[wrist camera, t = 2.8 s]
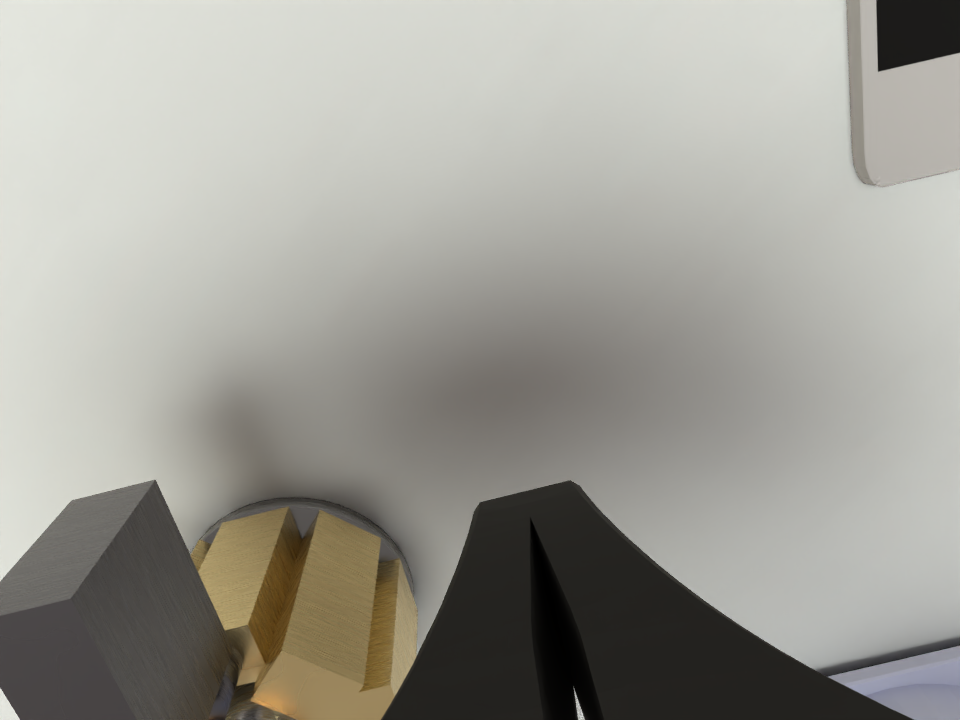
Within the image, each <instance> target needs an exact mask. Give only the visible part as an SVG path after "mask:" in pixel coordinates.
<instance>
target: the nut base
mask: <svg viewBox="0 0 960 720" xmlns="http://www.w3.org/2000/svg"><path fill="white" fill-rule="evenodd" d="M288 506H289V508H290V511H291V513H292V516H293V518H294V521H295V523H296V526H297V528H298V531H299V534H300V536H301V539H302V538H303V537H304V535H305V533H306V532H307V530H308V528H309V527H310V525H311V523H312V522H313V520H314V518H315V517H316V515H317V514H318V512H319V510H322V511H324V512H326V513H329V514H331V515H333V516H335V517H337V518H339V519H341V520H343V521H346V522H348V523H350V524H352V525H354V526H356V527H358V528H361V529H363V530H365V531H367V532H369V533H371V534H373V535H375V536H378V537H380V538H381V543H380V552H379V560H378V563H381V562H385V561H390V560H394V559H398V558H400V560H401V563H402V566H403V569H404V572H405V575H406V578H407V581H408V584H409V587H410V590H411V592H412V595H413V598H414V591H413V582H412V578H411V574H410V570H409V568H408V565H407V563H406V561H405V558H404V557H403V555H402V553H401V552H400V550H399V548H398V547H397V546H396V544H395V543H394V542H393V541H392V540H391V538H390V537H389V536H388V535H387V534H386V533H385V532H384V531H383V530H382V529H380V528H379V527H378V526H377V525H375V524H374V523H373V522H371V521H370V520H369V519H367V518H365V517H364V516H362V515H360V514H358V513H356V512H355V511H353V510H350V509H348V508H345V507H343V506H340V505H337V504H333V503H330V502H326V501H322V500H315V499H309V498H279V499H272V500H267V501H261V502H258V503H255V504H252V505H248V506H245V507H243V508H241V509H239V510H237V511H234V512H232V513H231V514H229V515H227V516H226V517H224V518H223V519H221V520H220V521H218V522H217V523H216V524H215V525H214V526H212V527H211V528H210V529H209V530H208V531H207V532H206V533H205V534H204V535H203V536H202V538H201V539H200V540H203V541H205V542H207V543H209V544H212V543H213V541H214V539H215V536H216V534H217V532H218V530H219V528H220V526H221V524H222V523H223V522H227V521H231V520H235V519H240V518H244V517H248V516H252V515H256V514H260V513H264V512H268V511H272V510H276V509H280V508H284V507H288ZM193 550H194V549H193ZM190 555H191V554H190ZM255 683H256V682H252V683H248V684H243V685H239V686H236V688H235V691H234V694H233V697H232V700H231V703H230V706H229V709H228V712H227V715H226V718H225V720H297V719H295V718H292V717H290V716H287V715H285V714H282V713H280V712H277V711H275V710H272V709H269V708H267V707H264V706H262V705H259V704H257V703H254V702H252V701H250V699H251V696H252V693H253V689H254V686H255Z"/></svg>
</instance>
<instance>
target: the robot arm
mask: <svg viewBox="0 0 960 720" xmlns="http://www.w3.org/2000/svg"><path fill="white" fill-rule="evenodd" d="M573 686H574V687H573ZM574 689H575V692H576V695H577V698H578V701H579V704H580V706H581V709H582V712H583V715H584V718H585V720H960V646H956V647H952V648H948V649H943V650H939V651H935V652H930V653H926V654H922V655H918V656H913V657H909V658H905V659H901V660H896V661H892V662H888V663H883V664H879V665H875V666H871V667H866V668H862V669H858V670H854V671H849V672H845V673H841V674H836V675H832V676H828V677H827V676H825V675H823V674H821V673H819V672H817V671H815V670H813V669H811V668H810V667H808V666H806V665H804V664H803V663H801V662H799V661H798V660H796V659H794V658H792V657H791V656H789V655H787V654H785V653H784V652H782V651H780V650H779V649H777V648H775V647H773V646H772V645H770V644H769V643H767V642H765V641H764V640H762V639H761V638H759V637H758V636H756V635H754V634H753V633H751V632H750V631H748V630H746V629H745V628H743V627H742V626H740V625H739V624H737V623H736V622H734V621H733V620H731V619H730V618H728V617H727V616H725V615H724V614H722V613H721V612H719V611H718V610H717V609H715V608H714V607H712V606H711V605H710V604H708V603H707V602H705V601H704V600H703V599H701V598H700V597H699V596H697V595H696V594H695V593H693V592H692V591H691V590H689V589H688V588H687V587H686V586H684V585H683V584H682V583H680V582H679V581H678V580H676V579H675V578H674V577H673V576H671V575H670V574H669V573H668V572H666V571H665V570H664V569H663V568H662V567H660V566H659V565H658V564H657V563H656V562H654V561H653V560H652V559H651V558H650V557H649V556H648V555H646V554H645V553H644V552H643V551H642V550H641V549H640V548H639V547H637V546H636V545H635V544H634V543H633V542H632V541H631V540H629V539H628V538H627V537H626V536H625V535H624V534H623V533H622V532H621V531H620V530H619V529H618V528H617V527H616V526H615V525H614V524H613V523H612V522H611V521H610V520H609V519H608V518H607V517H606V516H605V515H604V514H603V513H602V512H601V511H600V510H599V509H598V508H597V507H596V505H595V504H594V503H593V502H592V501H591V500H590V499H589V497H588V496H587V495H586V494H585V492H584V491H583V490H582V488H581V487H580V486H579V485H577V484H576V483H574V482H572V481H571V480H570V481H566V482H562V483H558V484H553V485H549V486H545V487H541V488H537V489H533V490H529V491H525V492H521V493H517V494H512V495H508V496H504V497H500V498H496V499H492V500H488V501H484V502H480V503H479V505H478V506H477V508H476V509H475V511H474V514H473V518H472V522H471V526H470V529H469V533H468V536H467V539H466V542H465V545H464V548H463V551H462V554H461V557H460V560H459V562H458V565H457V568H456V570H455V573H454V575H453V578H452V580H451V583H450V585H449V588H448V590H447V592H446V595H445V597H444V600H443V602H442V605H441V607H440V609H439V611H438V614H437V616H436V618H435V620H434V622H433V624H432V626H431V628H430V630H429V632H428V634H427V636H426V638H425V640H424V642H423V645H422V647H421V649H420V651H419V653H418V655H417V657H416V659H415V661H414V663H413V665H412V667H411V668H410V670H409V672H408V674H407V676H406V678H405V679H404V681H403V683H402V685H401V687H400V688H399V690H398V692H397V694H396V695H395V697H394V699H393V700H392V702H391V704H390V706H389V707H388V709H387V710H386V712H385V714H384V715H383V717H382V718H381V720H578V716H577V709H576V701H575V694H574Z"/></svg>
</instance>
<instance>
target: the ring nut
mask: <svg viewBox="0 0 960 720" xmlns="http://www.w3.org/2000/svg"><path fill="white" fill-rule="evenodd" d="M380 543H381V538H380V537H378V536H375V535H373V534H371V533H369V532H367V531H365V530H363V529H361V528H358V527H356V526H354V525H352V524H350V523H348V522H346V521H343V520H341V519H339V518H337V517H335V516H333V515H331V514H329V513H326V512H324V511H322V510H319V512H318V514H317V515H316V517H315V518H314V520H313V522H312V523H311V525H310V527H309V528H308V530H307V532H306V533H305V535H304V537H303V538H302V539H301V536H300V534H299V531H298V528H297V526H296V523H295V521H294V518H293V516H292V513H291V511H290V508H289V506H288V507H284V508H280V509H276V510H272V511H268V512H264V513H260V514H256V515H252V516H248V517H244V518H240V519H235V520H231V521H227V522H223V523H222V524H221V526H220V528H219V530H218V532H217V534H216V536H215V539H214V541H213V543H212V544H209V543H207V542H205V541H203V540H200V539H199V541H198V542H197V544H196V546H195V548H194V550H193V551H192V553H191V555H190V554H189V551H188V549H187V547H186V545H185V543H184V541H183V538H182V536H181V534H180V532H179V530H178V528H177V525H176V523H175V521H174V519H173V517H172V515H171V512H170V510H169V508H168V506H167V504H166V501H165V499H164V497H163V495H162V493H161V491H160V488H159V486H158V484H157V482H156V480H152V481H148V482H144V483H140V484H136V485H132V486H128V487H124V488H120V489H116V490H112V491H108V492H104V493H100V494H96V495H92V496H88V497H84V498H80V499H76V500H72V501H71V502H70V503H69V504H68V505H67V506H66V508H65V509H64V510H63V511H62V512H61V513H60V514H59V515H58V517H57V518H56V519H55V520H54V521H53V522H52V523H51V525H50V526H49V527H48V528H47V529H46V530H45V531H44V533H43V534H42V535H41V536H40V537H39V538H38V539H37V540H36V542H35V543H34V544H33V545H32V546H31V547H30V548H29V550H28V551H27V552H26V553H25V554H24V555H23V556H22V558H21V559H20V560H19V561H18V562H17V563H16V564H15V565H14V567H13V568H12V569H11V570H10V571H9V572H8V573H7V575H6V576H5V577H4V578H3V579H2V580H1V581H0V688H1V689H2V691H3V693H4V694H5V696H6V697H7V699H8V701H9V702H10V704H11V706H12V707H13V709H14V710H15V712H16V714H17V715H18V717H19V718H20V720H225V718H226V715H227V712H228V709H229V706H230V703H231V700H232V697H233V694H234V691H235V688H236V686H239V685H243V684H248V683H252V682H256V683H255V686H254V689H253V693H252V696H251V699H250V701H252V702H254V703H257V704H259V705H262V706H264V707H267V708H269V709H272V710H275V711H277V712H280V713H282V714H285V715H287V716H290V717H292V718H295V719H297V720H381V718H382V717H383V715H384V714H385V712H386V710H387V709H388V707H389V706H390V704H391V702H392V700H393V699H394V697H395V695H396V694H397V692H398V690H399V688H400V687H401V685H402V683H403V681H404V679H405V678H406V676H407V674H408V672H409V670H410V668H411V667H412V665H413V663H414V661H415V659H416V648H417V616H418V610H417V607H416V604H415V601H414V598H413V595H412V592H411V590H410V587H409V584H408V581H407V578H406V575H405V572H404V569H403V566H402V563H401V560H400V558H398V559H394V560H390V561H385V562H381V563H378V560H379V552H380Z"/></svg>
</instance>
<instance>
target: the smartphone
mask: <svg viewBox="0 0 960 720" xmlns="http://www.w3.org/2000/svg"><path fill="white" fill-rule="evenodd" d="M846 3H847V29H848V56H849V83H850V110H851V136H852V154H853V162H854V167H855V170H856V172H857V175H858V177H859V178H860V179H861V180H862V182H863V183H865V184H870V185H874V186H879V187H886V186H890V185H895V184H899V183H903V182H908V181H912V180H916V179H921V178H925V177H929V176H934V175H938V174H942V173H947V172H951V171H955V170H960V0H846Z"/></svg>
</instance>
